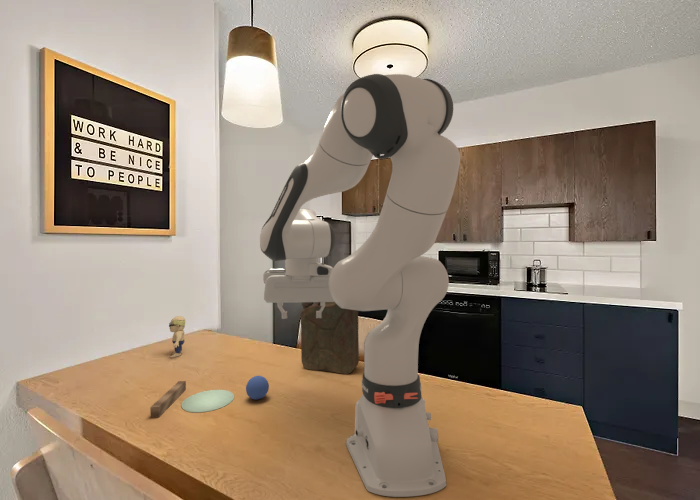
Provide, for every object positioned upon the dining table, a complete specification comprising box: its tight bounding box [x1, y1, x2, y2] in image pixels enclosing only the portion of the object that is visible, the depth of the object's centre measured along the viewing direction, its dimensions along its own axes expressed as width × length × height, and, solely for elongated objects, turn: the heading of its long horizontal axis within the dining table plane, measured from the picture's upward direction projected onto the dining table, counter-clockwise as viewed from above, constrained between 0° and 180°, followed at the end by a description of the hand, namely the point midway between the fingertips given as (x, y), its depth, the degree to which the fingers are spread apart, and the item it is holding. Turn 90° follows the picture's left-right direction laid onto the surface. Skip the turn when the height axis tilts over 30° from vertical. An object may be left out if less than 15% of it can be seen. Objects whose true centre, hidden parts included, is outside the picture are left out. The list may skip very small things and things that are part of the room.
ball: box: [245, 375, 270, 401], centre depth 92 cm, size 6×6×6 cm
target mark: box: [180, 389, 235, 413], centre depth 91 cm, size 13×13×1 cm
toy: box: [168, 315, 186, 358], centre depth 130 cm, size 13×6×15 cm, turn 17°
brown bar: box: [149, 380, 187, 418], centre depth 90 cm, size 16×2×2 cm, turn 4°
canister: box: [300, 302, 360, 375], centre depth 114 cm, size 19×8×25 cm, turn 70°
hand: (301, 318), depth 94 cm, fingers open, 8 cm apart
